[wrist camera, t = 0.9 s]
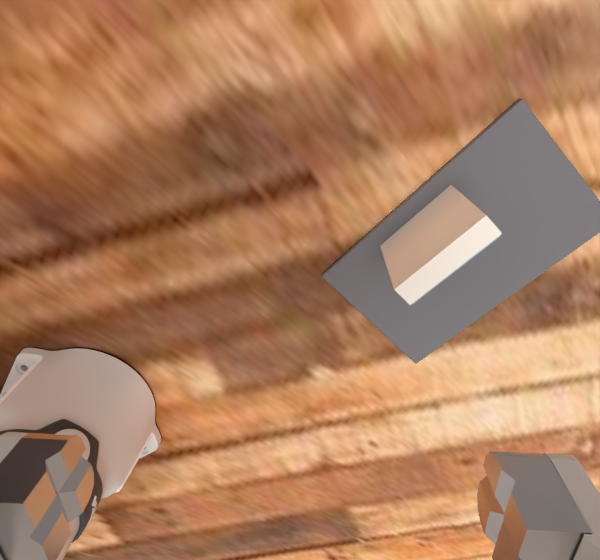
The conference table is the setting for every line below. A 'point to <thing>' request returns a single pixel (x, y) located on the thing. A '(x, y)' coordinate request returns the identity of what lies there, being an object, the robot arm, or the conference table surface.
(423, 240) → the tile
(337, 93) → the conference table surface
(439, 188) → the mat
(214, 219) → the conference table surface
